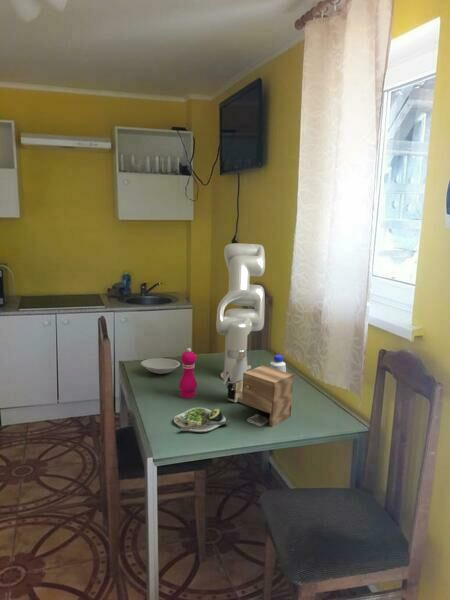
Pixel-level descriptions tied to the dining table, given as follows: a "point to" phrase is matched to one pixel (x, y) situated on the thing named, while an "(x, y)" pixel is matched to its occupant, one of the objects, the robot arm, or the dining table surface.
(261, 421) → the gray rectangular block
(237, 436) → the dining table surface
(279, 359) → the bottle
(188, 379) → the pepper mill
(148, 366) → the dish
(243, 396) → the wooden box
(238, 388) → the beige mallet
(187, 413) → the salad plate
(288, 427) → the dining table surface
